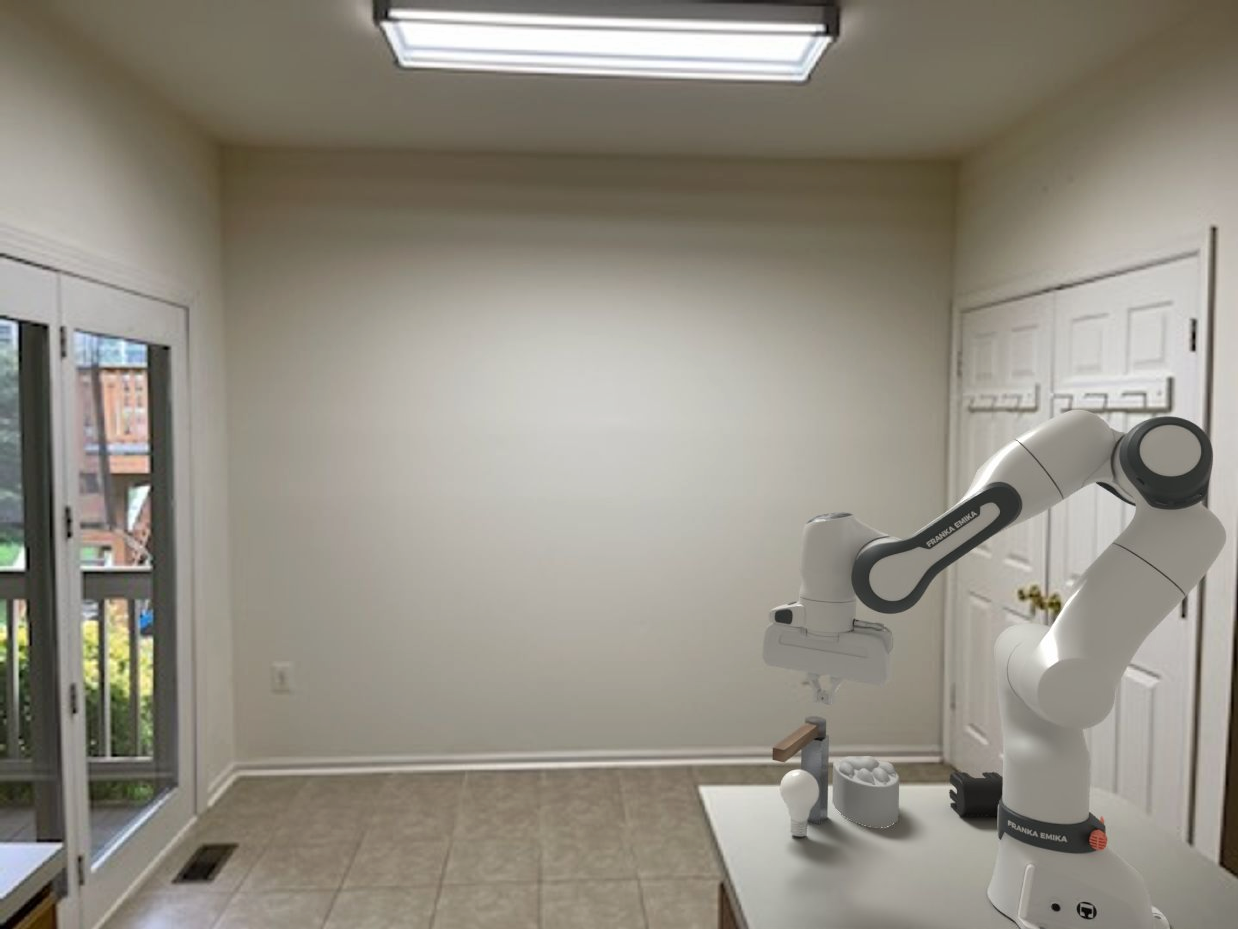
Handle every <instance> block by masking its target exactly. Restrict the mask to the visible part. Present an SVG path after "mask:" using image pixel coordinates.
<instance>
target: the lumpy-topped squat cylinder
mask: <svg viewBox="0 0 1238 929" xmlns="http://www.w3.org/2000/svg"><path fill="white" fill-rule="evenodd" d="M832 766H833V767H832V801H831V802H832V805H833V804H834V805H833V806H835V807H834V809H835V810H836V809H837V810H838V811H839V812H840V813H841V814H840V813H839V812H838V811H837V810H836V811H837V812H838V813H839V814H840V816H842V815H843V816H845V817H846V818H848V819H850V820H852V821H853V822H852V821H851V822H852V823H854V822H857V823H860V824H863V825H866V826H871V827H877V828H876V829H885V828H884V827H887V826H890V825H892V824H893V823H895V822H896V821H897V822H898V820H899V817H900V816H899V815H900V814H899V810H900V809H899V808H900V776H899V775H898V773H897V772H896V770H895V767H894V764H892V763H891V762H888V761H882V760H878V759H876V758H874V757H873V756H870V755H864V756H856V755H855V756H854V755H853V756H852V755H851V756H850V755H849V756H846V757H843V758H838V759H836V760H834V761H833V765H832ZM843 816H842V817H843ZM898 816H899V817H898ZM846 818H845V819H846ZM848 819H847V820H848ZM897 819H898V820H897ZM850 820H849V821H850ZM897 822H896V823H897ZM857 823H856V824H857ZM863 825H862V826H863ZM866 826H865V827H866ZM871 827H870V828H871ZM881 827H883V828H881Z"/></svg>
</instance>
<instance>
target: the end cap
mask: <svg viewBox="0 0 1238 929" xmlns="http://www.w3.org/2000/svg"><path fill="white" fill-rule="evenodd" d="M982 776H983V777H973V776H971V775H970V774H969V773H968V772H965V771H964V772H958V771H956V772H951V773H950V775H949V779H948V780H949V783H950V784H951V785H952V787H954V788H955V790H956V792H955V791H954V790H953V789H949V792H948V794H949V799H951V800H952V801H953V802H950V808H951V809H952V810H953V811H954V812H955V813H956V814H957V815H958V816H960V817H997V815H998V805H999V800H1000V799H1001V796H1002V789H1003V775H1001V774H999V773H998V772H994V771H992V772H988V771H985V772H982Z"/></svg>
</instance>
